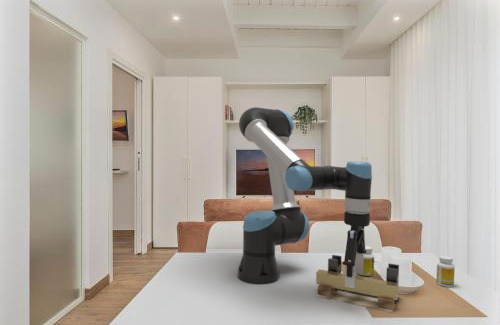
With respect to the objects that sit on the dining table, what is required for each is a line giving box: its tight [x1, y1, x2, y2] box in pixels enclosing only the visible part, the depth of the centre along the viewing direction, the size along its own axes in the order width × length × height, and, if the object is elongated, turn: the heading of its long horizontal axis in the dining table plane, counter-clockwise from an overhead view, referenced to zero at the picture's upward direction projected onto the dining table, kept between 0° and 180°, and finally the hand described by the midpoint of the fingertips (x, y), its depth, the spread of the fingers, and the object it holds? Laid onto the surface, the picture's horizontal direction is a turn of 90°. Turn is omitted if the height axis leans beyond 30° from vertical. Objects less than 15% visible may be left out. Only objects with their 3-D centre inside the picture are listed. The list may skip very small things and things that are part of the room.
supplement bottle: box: [435, 255, 455, 288], centre depth 120 cm, size 5×5×10 cm
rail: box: [315, 268, 399, 300], centre depth 105 cm, size 24×3×4 cm, turn 62°
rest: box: [316, 285, 396, 313], centre depth 105 cm, size 22×7×3 cm, turn 62°
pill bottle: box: [355, 245, 375, 279], centre depth 126 cm, size 6×6×11 cm
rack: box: [327, 254, 400, 305], centre depth 110 cm, size 22×6×10 cm, turn 62°
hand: (354, 279), depth 106 cm, fingers open, 13 cm apart
